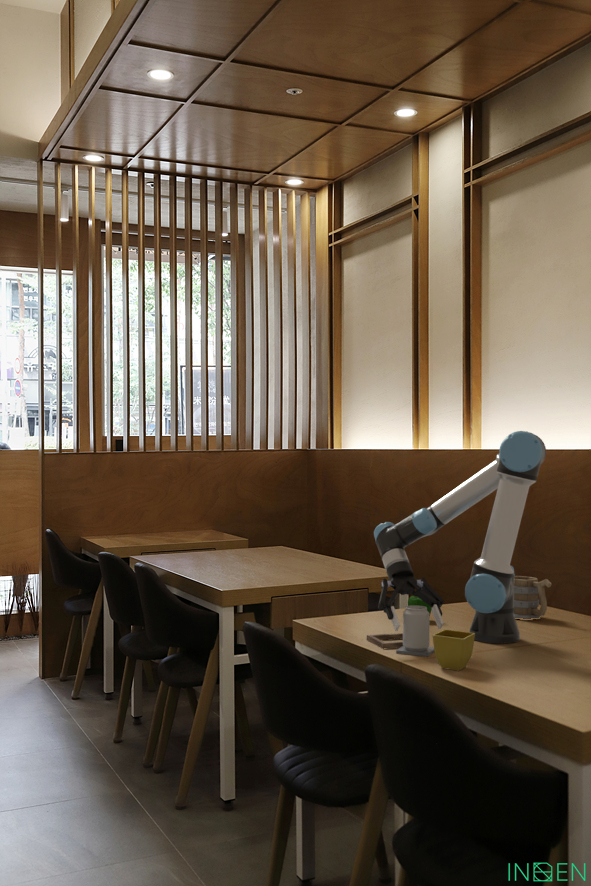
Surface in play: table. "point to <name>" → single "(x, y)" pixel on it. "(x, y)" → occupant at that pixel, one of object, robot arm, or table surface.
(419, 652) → the slate coaster
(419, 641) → the white jar
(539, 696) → the table surface
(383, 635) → the walnut frame
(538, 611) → the tankard
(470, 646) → the flower pot
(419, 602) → the bell pepper
